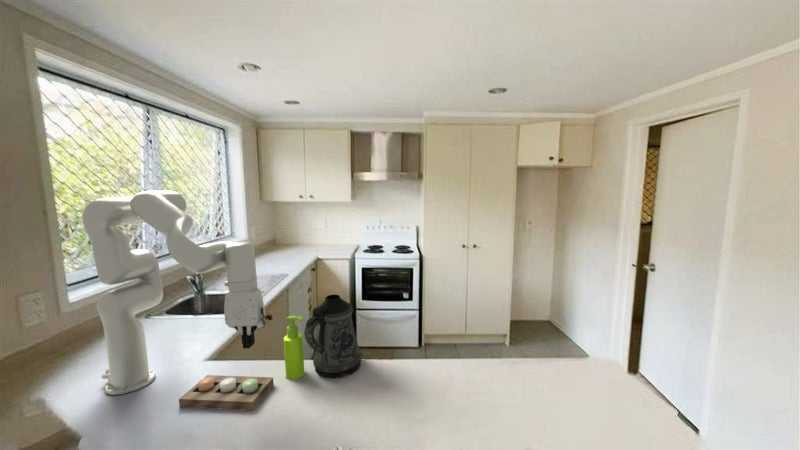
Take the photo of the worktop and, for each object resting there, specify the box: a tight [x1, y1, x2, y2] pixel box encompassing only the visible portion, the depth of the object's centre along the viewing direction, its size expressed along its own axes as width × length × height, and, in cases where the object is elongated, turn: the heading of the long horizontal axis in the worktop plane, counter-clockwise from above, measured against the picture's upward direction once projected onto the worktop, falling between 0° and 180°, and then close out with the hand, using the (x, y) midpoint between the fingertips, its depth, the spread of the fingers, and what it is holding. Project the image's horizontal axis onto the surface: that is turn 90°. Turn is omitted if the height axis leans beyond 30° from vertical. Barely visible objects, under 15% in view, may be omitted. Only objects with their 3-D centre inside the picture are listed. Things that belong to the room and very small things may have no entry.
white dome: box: [220, 378, 236, 393], centre depth 97 cm, size 4×4×2 cm
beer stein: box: [303, 294, 363, 380], centre depth 110 cm, size 16×19×25 cm
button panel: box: [178, 374, 274, 411], centre depth 98 cm, size 22×12×2 cm, turn 85°
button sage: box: [242, 379, 258, 394], centre depth 97 cm, size 4×4×2 cm
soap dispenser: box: [283, 315, 305, 380], centre depth 107 cm, size 6×7×20 cm
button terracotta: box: [197, 377, 215, 392], centre depth 98 cm, size 4×4×2 cm
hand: (248, 346), depth 95 cm, fingers closed
